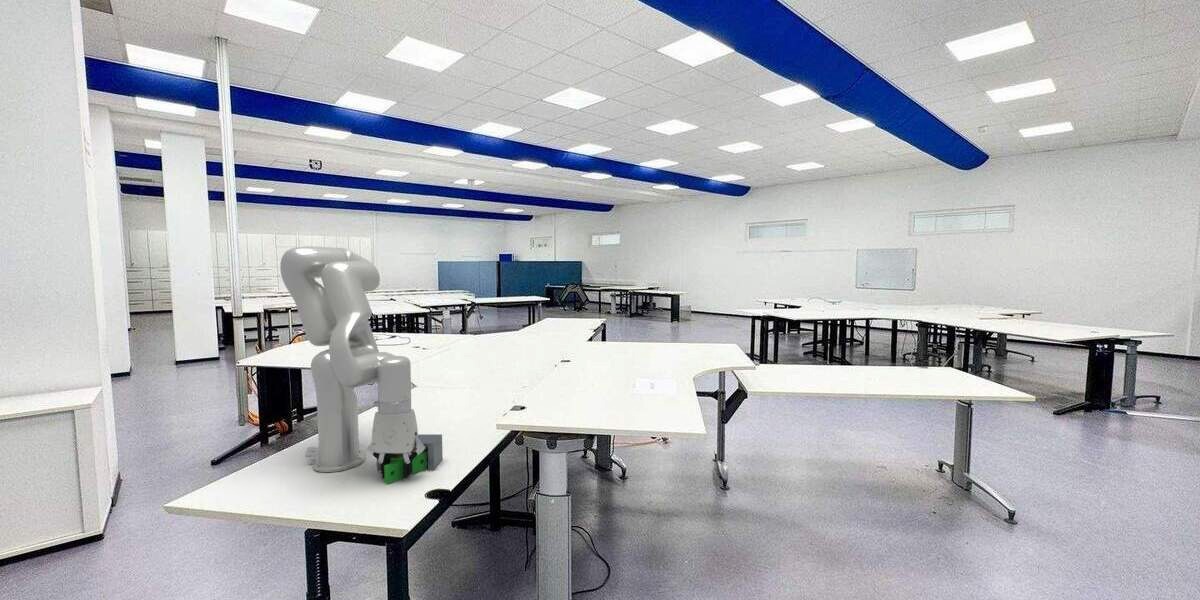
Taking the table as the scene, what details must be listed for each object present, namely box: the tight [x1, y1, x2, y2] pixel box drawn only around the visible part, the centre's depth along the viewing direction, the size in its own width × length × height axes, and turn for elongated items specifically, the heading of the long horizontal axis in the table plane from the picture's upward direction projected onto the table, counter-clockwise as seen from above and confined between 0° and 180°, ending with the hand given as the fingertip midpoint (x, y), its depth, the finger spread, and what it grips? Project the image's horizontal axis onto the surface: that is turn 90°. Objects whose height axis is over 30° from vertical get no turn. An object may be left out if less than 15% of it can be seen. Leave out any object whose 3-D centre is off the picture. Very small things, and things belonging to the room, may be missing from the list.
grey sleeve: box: [376, 433, 444, 472], centre depth 124 cm, size 15×7×7 cm, turn 91°
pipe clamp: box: [384, 451, 428, 485], centre depth 119 cm, size 11×4×5 cm, turn 145°
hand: (396, 475), depth 116 cm, fingers closed on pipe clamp, 4 cm apart
